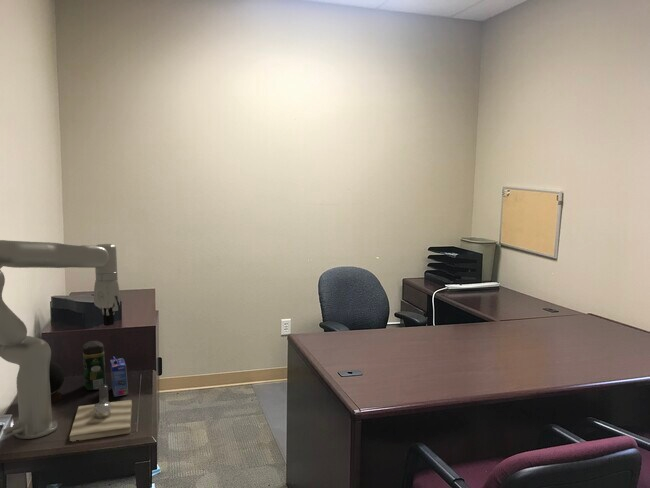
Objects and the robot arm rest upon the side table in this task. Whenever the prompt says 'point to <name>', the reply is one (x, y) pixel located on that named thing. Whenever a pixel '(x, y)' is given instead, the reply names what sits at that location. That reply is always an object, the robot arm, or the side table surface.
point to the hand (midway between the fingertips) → (108, 324)
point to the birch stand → (102, 421)
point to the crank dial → (103, 403)
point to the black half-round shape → (55, 381)
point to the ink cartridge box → (118, 377)
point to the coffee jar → (94, 365)
